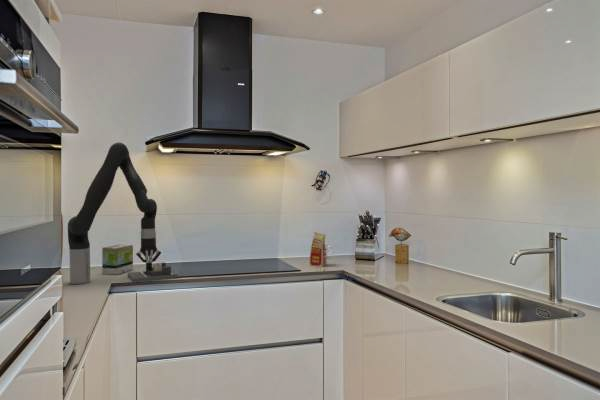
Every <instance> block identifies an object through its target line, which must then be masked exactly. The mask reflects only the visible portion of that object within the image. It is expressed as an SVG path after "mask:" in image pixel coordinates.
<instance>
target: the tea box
mask: <svg viewBox="0 0 600 400" xmlns="http://www.w3.org/2000/svg"><path fill="white" fill-rule="evenodd" d="M101 252H102V254H101V259H102V260H101V262H102V263H101V264H102V265H101V268H102V269H101V270H102V271H101V273H102V275H120V274H123V273H128V272H130V271H133V269H134V245H132V244H115V245H110V246H105V247H102V251H101Z"/></svg>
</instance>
